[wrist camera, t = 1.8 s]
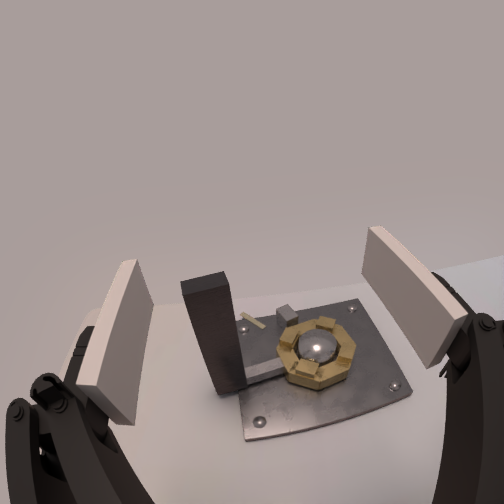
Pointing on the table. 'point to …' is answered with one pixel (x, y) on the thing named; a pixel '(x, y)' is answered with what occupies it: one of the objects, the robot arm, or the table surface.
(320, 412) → the flange
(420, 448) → the table surface
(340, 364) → the grey and tan piece
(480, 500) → the robot arm
